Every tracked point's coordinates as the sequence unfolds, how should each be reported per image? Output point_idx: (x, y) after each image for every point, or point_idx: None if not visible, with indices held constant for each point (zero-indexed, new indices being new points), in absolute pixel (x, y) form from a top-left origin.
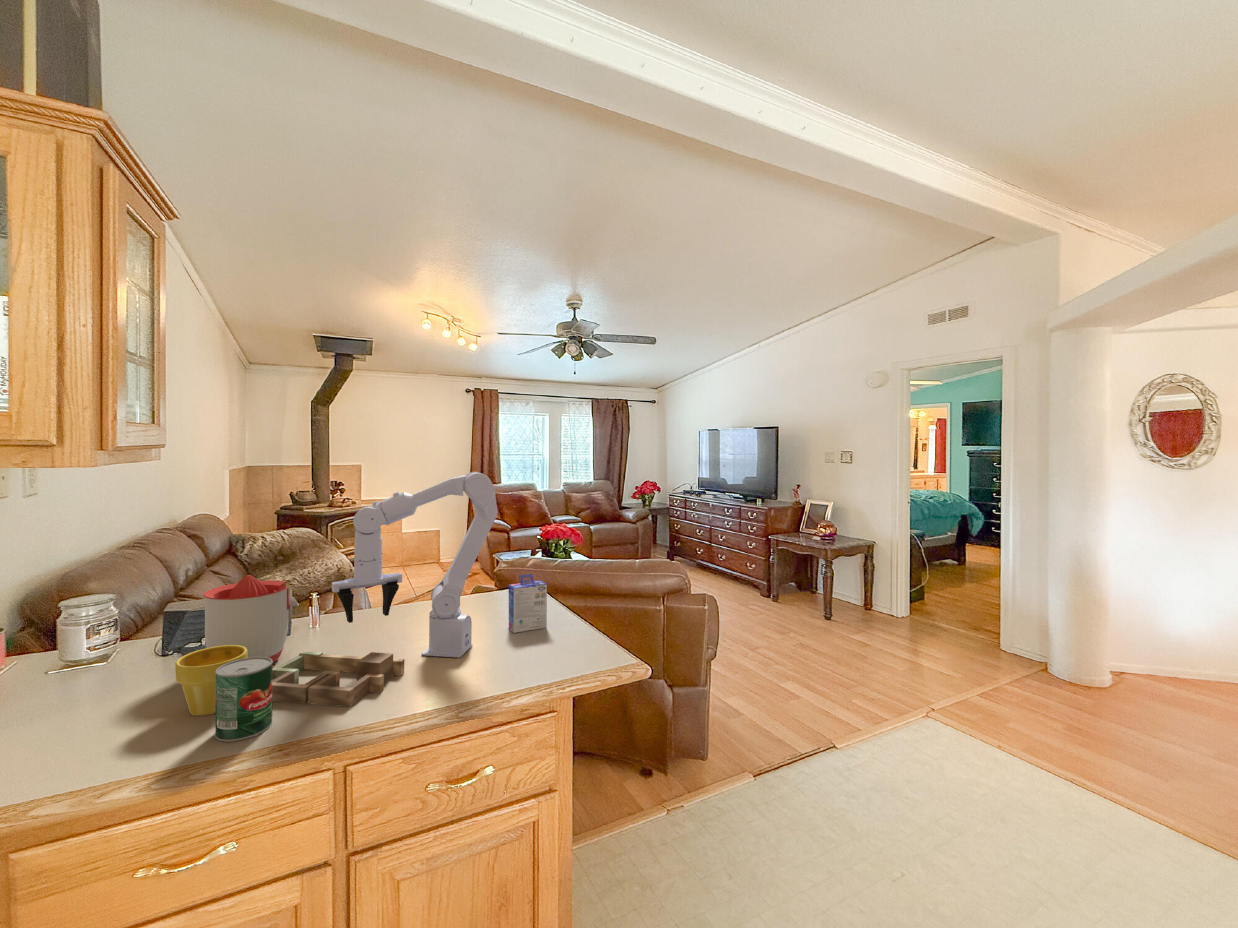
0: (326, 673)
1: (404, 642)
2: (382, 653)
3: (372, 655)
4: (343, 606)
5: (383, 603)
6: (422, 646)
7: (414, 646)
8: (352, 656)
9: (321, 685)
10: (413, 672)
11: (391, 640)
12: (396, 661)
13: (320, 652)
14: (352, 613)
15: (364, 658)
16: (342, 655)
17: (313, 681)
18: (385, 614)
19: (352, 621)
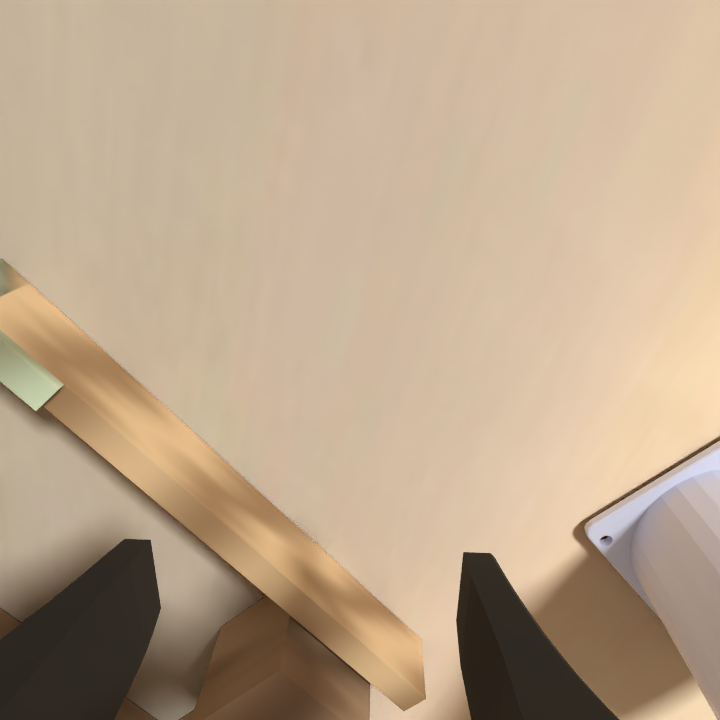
0: None
1: (631, 253)
2: (323, 715)
3: (273, 708)
4: (2, 640)
5: (488, 641)
6: (669, 398)
7: (635, 367)
8: (216, 523)
9: None
10: (454, 654)
11: (587, 145)
12: (386, 694)
13: (44, 381)
14: (119, 702)
15: (229, 716)
16: (169, 474)
17: None
18: (458, 626)
19: (156, 614)
